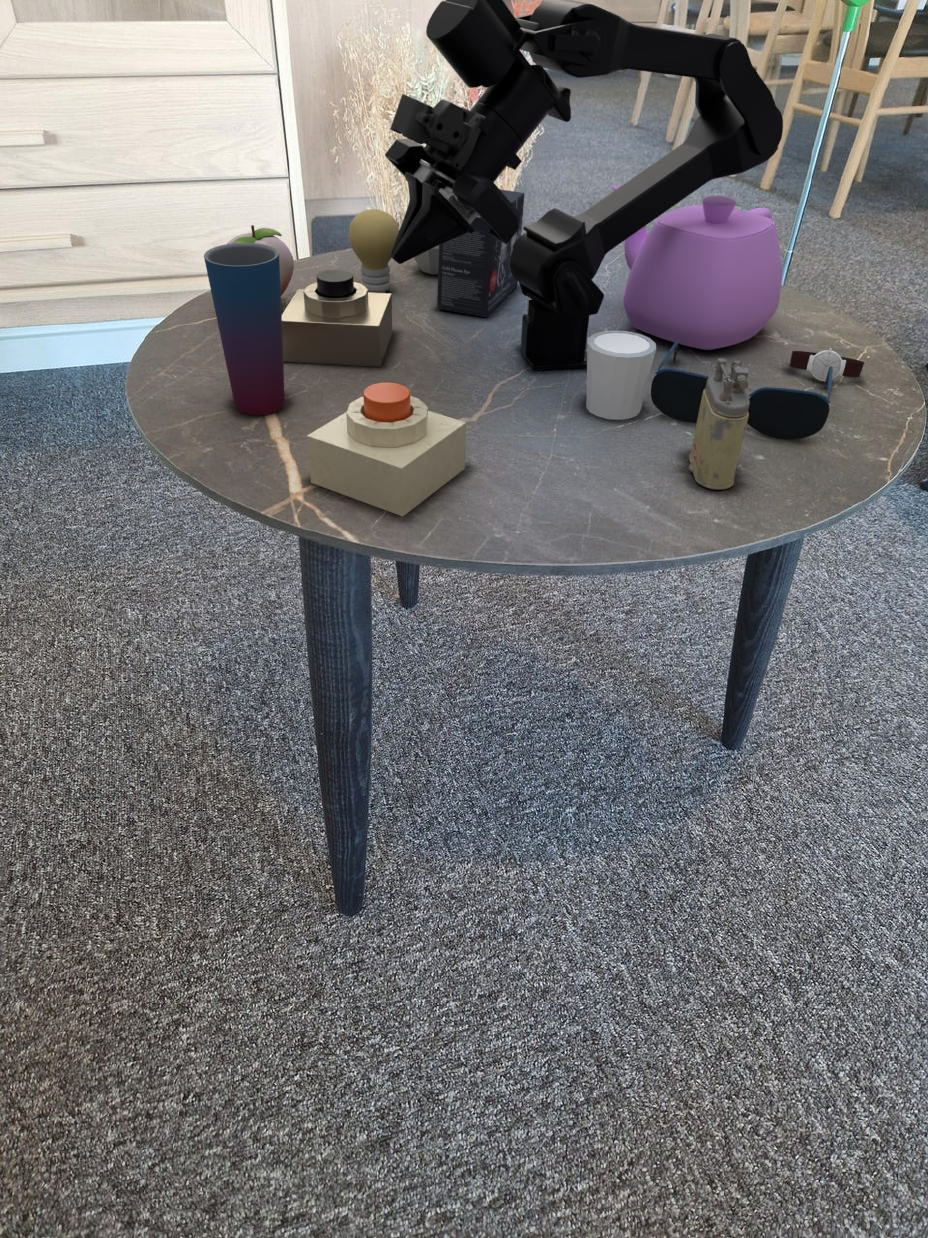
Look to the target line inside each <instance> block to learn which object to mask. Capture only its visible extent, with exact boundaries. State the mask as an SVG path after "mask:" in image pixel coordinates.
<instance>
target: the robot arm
mask: <svg viewBox="0 0 928 1238" xmlns="http://www.w3.org/2000/svg"><path fill="white" fill-rule="evenodd" d="M425 34H426V37H427V38H428V39H429V41H430V42H431V43H432V45H433V46H434V47H435V48H436V50H437V51H438V52H439V53H440V55H441V56H442V57H443V58H444V60H445V61H446V62H447V63H448V64H449V65H450V67H451V68H452V69H453V71H454V72H455V73H456V74H457V76H458V77H459V78H460V79H461V80H462V82H463V84H465V86H466V87H467V88H469V89H476V88H479V87H482V88H486V89H485V91H484V92H483V93H482V95H481V96H480V97H479V98H478V100H477V101H476V102H475V103H474V105H473V107H472V108H470V109H468V108H465V107H463V106H461V107H460V106H459V105H457V104H456V103H453V102H451V101H449V100H446V99H444V98H442V99H440V100H439V101H438V102H437V103H436V104H435V106H432V105H430V104H427V103H424V102H423V101H421V100H418V99H416V98H414V97H411V96H409V95H407V94H405V93H402V94H401V97H400V99H399V103H398V105H397V108H396V111H395V114H394V117H393V120H392V123H391V125H390V130H389V131H392V132H393V133H394V132H395V133H397V134H399V135H402V137H404V138H396V139H395V140H394V142H393V143H392V144H391V146H390V147H389V148H388V149H387V151H386V152H385V154H384V156H385V158H386V159H387V160H388V161H389V162H390V163H391V164H392V166H393V167H394V168H396V170H398V172H399V173H400V174H401V175H402V176H403V177H404V179H405V181H406V182H407V187H408V195H409V201H408V204H407V206H406V207H407V208H406V211H405V213H404V217H403V219H402V222H401V225H400V227H399V233H398V235H397V238H396V240H395V243H394V246H393V248H392V251H391V254H390V256H391V259H392V260H393V261H394V262H395V263H397V264H399V265H402V264H404V263H406V262H408V261H409V260H412V259H415V258H414V257H416V256H418V255H420V254H422V253H424V252H426V251H428V250H430V249H432V248H434V247H436V246H438V245H440V244H443V243H445V242H447V241H449V240H452V239H454V238H456V237H459V236H461V235H463V234H466V233H470V234H472V233H473V232H474V231H475V230H474V229H473V227H472V226H471V225H470V224H471V223H472V222H473V220H474V219H475V218H476V217H477V215H478V214H479V215H480V217H481V218H482V219H483V220H484V221H485V222H486V223H487V224H488V226H489V227H490V234H491V235H492V236H493V237H494V238H496V239H498V240H499V241H501V242H503V243H504V244H506V245H507V244H508V242H509V241H510V240H511V239H512V237H513V236H514V235H515V233H516V232H517V231H518V230H519V228H520V213H519V211H518V210H517V209H516V208H515V207H514V206H513V204H512V203H511V202H510V201H509V200H508V199H507V197H506V196H505V195H504V194H503V193H502V192H501V190H502V189H501V190H500V188H499V187H498V186H497V184H496V183H495V182H496V181H497V180H498V178H499V177H500V176H501V174H502V173H503V172H504V171H505V170H506V168H510V169H512V170H514V171H516V170H517V168H518V167H519V166H520V164H521V163H522V162H523V161H522V160H521V158H520V157H519V156H518V152H519V151H520V150H521V149H522V148H523V146H524V145H525V144H526V142H527V141H528V140H529V139H530V137H531V136H532V135H533V134H534V132H535V131H536V129H537V128H538V127H539V125H541V123H542V122H543V121H544V120H545V118H546V117H547V116H548V117H552V118H554V119H557V120H558V121H559V120H560V121H562V122H565V123H568V122H570V121H571V120H572V106H571V93H572V90H571V88H568V87H565V86H562V85H560V84H559V85H556V83H555V82H554V80H553V79H552V78H551V76H550V75H549V74H548V72H547V71H546V69H547V70H550V71H553V72H557V73H561V74H564V75H567V76H571V77H573V78H577V79H581V78H582V79H583V78H590V77H599V76H607V75H611V74H613V73H616V72H618V71H626V70H631V71H639V72H646V73H654V74H655V73H656V74H661V75H670V76H678V77H686V78H693V79H694V81H695V95H694V103H695V107H696V111H697V112H698V115H699V116H698V117H697V118H696V119H695V121H694V123H693V125H692V126H691V129H690V131H689V133H688V135H687V138H686V139H685V140H684V141H683V142H682V143H681V144H680V145H678V146H676V147H675V148H674V149H672V150H670V152H668V153H667V154H665V155H663V156H662V157H660V158H659V159H658V160H657V161H655V162H654V163H652V164H650V165H649V166H648V167H647V168H645V169H644V170H642V171H641V172H639V173H638V174H636V175H635V176H633V177H632V178H630V179H629V180H628V181H626V182H624V183H623V184H622V185H620V186H621V187H619V188H618V189H616V190H615V191H614V190H613V191H612V192H610V193H609V194H608V195H606V196H605V197H604V198H602V199H600V200H599V201H598V202H596V203H595V204H593V205H592V206H591V207H589V208H588V209H586V210H585V211H584V212H582V213H580V214H577V215H571V214H570V213H567V212H565V211H563V210H561V209H559V208H556V207H553V208H552V209H550V210H548V211H547V212H545V213H544V215H542V216H541V217H540V218H539V219H538V220H537V221H535V222H534V223H531V224H527V225H524V226H522V230H523V231H525V232H524V233H523V234H521V236H520V237H519V238H518V239H517V240H516V242H515V243H514V245H513V251H512V254H511V257H510V269H511V273H512V275H513V276H514V278H515V280H517V281H518V284H519V287H520V291H521V294H522V295H523V296H524V297H527V298H529V300H528V302H527V306H528V307H527V313H526V314H525V313H524V315H522V320H521V321H522V323H521V336H520V337H521V338H520V350H521V352H522V354H523V356H524V358H525V359H526V360H527V362H528V363H529V365H530V367H531V369H533V370H537V371H539V370H558V369H559V370H560V369H579V368H581V369H582V368H587V356H586V347H587V342H588V331H589V323H590V321H589V320H590V316H593V315H597V314H598V313H599V311H600V309H601V306H602V303H603V301H604V299H605V293H604V292H603V291H602V290H601V289H600V288H599V286H598V285H597V284H596V283H595V282H594V280H593V279H594V278H595V277H596V275H597V272H598V271H599V269H600V266H601V265H602V262H603V260H604V258H605V256H606V255H607V254H608V253H609V252H611V251H612V250H613V249H615V248H616V247H617V246H619V245H620V244H622V243H623V242H625V240H626V239H627V238H629V237H630V236H632V235H633V234H634V233H636V232H637V231H639V230H640V229H642V228H643V227H644V226H645V227H646V226H648V225H649V224H650V223H652V222H653V221H655V220H657V219H658V218H660V217H661V216H662V215H664V214H665V213H667V212H668V211H669V210H671V208H674V206H676V205H677V204H679V203H680V202H682V201H683V200H684V199H686V198H687V197H689V196H690V195H692V194H694V192H696V191H697V190H699V189H700V188H701V187H703V186H704V185H707V183H709V182H711V181H712V180H716V179H721V178H726V177H730V176H731V177H732V176H734V175H740V174H744V173H745V172H748V171H750V170H752V169H754V168H757V167H758V166H760V165H763V164H764V163H766V162H768V161H769V160H770V159H771V158H773V156H774V155H775V154H776V153H777V152H778V149H779V145H780V142H781V140H782V138H783V132H784V119H783V114H782V112H781V110H780V109H779V108H778V106H777V104H776V102H775V99H774V95H773V93H772V91H771V90H770V89H769V87H768V85H767V84H766V83H765V81H764V79H763V78H762V77H761V76H760V75H759V73H758V71H757V70H756V69H755V67H754V66H753V64H752V61H751V58H750V54H749V51H748V49H747V48H746V45H745V44H744V43H742V41H741V39H738V38H735V37H731V36H726V35H721V34H716V33H707V34H700V33H699V34H698V33H692V32H685V31H679V30H674V29H673V30H672V29H666V28H660V27H654V26H648V25H640V24H634V23H632V22H630V21H628V20H627V19H625V18H623V17H622V16H620V15H618V14H616V13H614V12H612V11H609V10H607V9H604V8H602V7H600V6H597V5H595V4H591V3H587V2H583V1H577V0H541V2H540V3H539V5H538V6H537V7H535V9H534V11H533V12H532V13H528V14H523V15H519V16H514V14H513V12H512V11H511V10H510V8H509V7H508V6H507V4H506V3H505V1H504V0H442V1H440V3H439V4H438V5H437V6H436V8H435V9H434V11H433V12H432V13H431V16H430V18H429V19H428V22H427V24H426V30H425ZM522 51H523V52H528V54H529V55H530V58H531V60H532V62H533V63H534V64H531V63H530V62H529V61H528V60H527V58H526V56H525V55H524V54H523V52H522ZM424 144H425V146H423V145H424Z"/></svg>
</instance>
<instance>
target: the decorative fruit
mask: <svg viewBox="0 0 928 1238" xmlns="http://www.w3.org/2000/svg"><path fill="white" fill-rule="evenodd" d="M250 229H251V232H246V233H242V234H239V235H236V236H234V237H233V238H231V239H230V240H229V241H228V242H226V244H232V243H258V244H264V245H268V246H271V247H274V248H276V249H277V250H278V252H279V261H280V288H281V296H283V295H284V293H285V292H286V290H287V289H288V287H289V284H290V282H291V280H292V277H293V274H294V268H295V261H294V257H293V253H292V252H291V250H290V248H289V247H288V245H287V244H286V243H285V242H284V241H283V240H282V239H280V238H278V237H283V236H282V234H281V232H280V231H277V230H276V229H274V228H269V227H261V228H257V229H255V224H252V225H250ZM277 236H278V237H277Z"/></svg>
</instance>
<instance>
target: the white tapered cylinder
mask: <svg viewBox="0 0 928 1238" xmlns="http://www.w3.org/2000/svg"><path fill="white" fill-rule="evenodd" d="M656 352H657V344H656V342H655V341H654V340H653V339H651V337H649V336H646V335H644V334H641V333H638V332H632V331H629V330H604V331H600V332H599V331H598V332H596V333H593V334H591V335H590V336H589V337H587V355H586V358H587V367H586V399H585V400H586V401H585V402H586V404H585V405H586V406H585V408H586V409H587V410H588V412H589V413H590V414H592V415H594V416H596V417H599V418H603V419H607V420H612V421H613V420H614V421H615V420H617V421H622V420H629V419H632V418H635V417H637V416H638V415H639V414H640V413H641V410H642V407H643V406H642V405H643V402H644V398H645V394H646V390H647V386H648V382H649V379H650V375H651V371H652V367H653V364H654V363H653V362H654V359H655V355H656Z"/></svg>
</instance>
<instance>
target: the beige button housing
mask: <svg viewBox="0 0 928 1238" xmlns="http://www.w3.org/2000/svg"><path fill="white" fill-rule="evenodd" d="M466 437H467V421H463V420H460V419H458V418H453V417H449V416H446V415H443V414H441V413H438V412H434V411H430V410H429V407H428V405H426V404H425V403H424V402H423V401H422V400H421V399H419V398H418V397H415V396H412V395H410V417H408V418H407V419H405V420H401V421H396V422H377V421H374V420H371V419H367V418H366V417H365V415H364V398H363V395H362V396H360V397H358V398H357V399H355V400H353V401H351V402H349V404H348V405H347V409H346V411H345V412H344V413H342V414H341V415H339V416H338V417H336V418H334V419H332V420H330V421H328V422H327V423H326V424H324V425H322V426H321V427H319V428H317V429H315V430H314V431H312V432H310V433H309V434H307V435H306V441H307V450H308V451H307V452H308V463H309V464H308V465H309V471H310V472H309V474H310V475H309V476H310V483H311V484H313V485H316V486H319V487H320V488H324V489H327V490H329V491H332V492H334V493H337V494H340V495H343V496H345V497H348V498H351V499H354V500H356V501H359V502H362V503H365V504H367V505H369V506H372V507H375V508H378V509H381V510H384V511H386V512H388V513H391V514H394V515H397V516H400V517H402V518H403V517H405V516H406V515H407V514H408V513H409V512H411V511H412V510H414V508H416V507H417V506H419V505H420V504H421V503H423V502H424V501H425V500H427V499H428V498H429V497H430V496H432V495H433V494H434V493H435V492H437V491H438V490H439V489H441V488H442V487H443V486H445V484H447V483H448V482H450V481H451V480H452V479H453V478H455V477H456V476H457V475H459V474H460V473H461V472H462V471H464V470H465V468H466V441H467V440H466Z"/></svg>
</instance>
